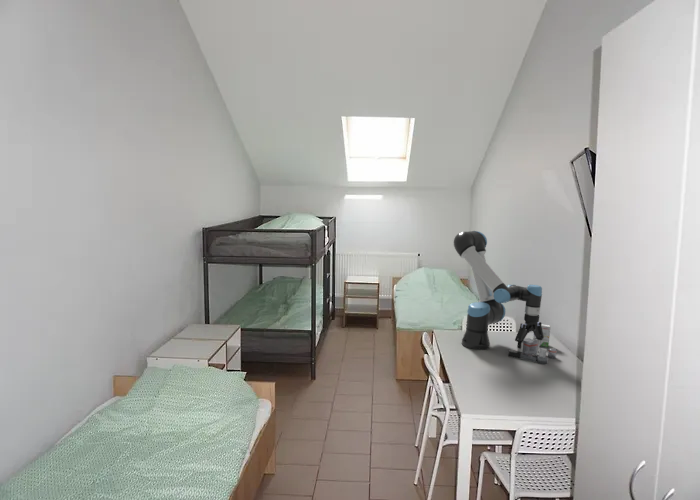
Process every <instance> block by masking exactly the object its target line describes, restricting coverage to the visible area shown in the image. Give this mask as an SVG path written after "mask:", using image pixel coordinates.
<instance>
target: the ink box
mask: <svg viewBox="0 0 700 500" xmlns="http://www.w3.org/2000/svg"><path fill="white" fill-rule="evenodd" d="M541 327H542V331H543V336H544V338H542V340H540V346H539V347H546V348H549V346H550V345H549V343H550V336H551V325H549V324H543V323H542V324H541ZM532 336H533V337H532V339H533V340H535V339H537V338H536V336H535V334H534V333H533V335H532Z"/></svg>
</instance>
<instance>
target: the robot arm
mask: <svg viewBox="0 0 700 500" xmlns="http://www.w3.org/2000/svg"><path fill="white" fill-rule="evenodd" d="M487 244H488V239H487V237H486V235H485V234H484V233H483V232H480V231H477V230H472V231H471V230H470V231H461V232H459V233H457V234H456V235H455V236H454V238H453V247H454V249H455V251H456V252H457V254H458V256H459V257H460V258H461V259H465V261H466V262H467V263H468V264H469V266H470V267H471V271H472V273H473V277H474V282H475V285H476V289H477V292H478V296H479V297H478V298H479V300H478V302H476V301H475V302H471V303H470V304H468V308H467V310H466V311H467V312H466V313H467V314H466V315H467V316H466V327H465V332H464V334H463V337H462V338H461V345H462V346H463V347H466V348H468V349H473V350H488V349H490V346H491V342H490V338H489V333H488V332H489V325H493V324H497V323H499V322H501V321H503V319H505V318H504V317H505V316H506V308H505V306H504V304H506V303H508V302H514V301H521V302H525V308H524V317H523V320H524V321H525V322H524V323H522V322H521V323H520V326H519V329H518V331H517V334H516V336H515V339H514V341H515V342H517V347H516V349H517V350H516V351H520V352H522V351H523V343H522V342H523V340H524V339H525V338H527V335H528V334H529V333H530V332H533V335H534V334H535V336H536V338H537V339H535V341H538V347H537V353H539V350H540V347H541V346H540V340H542V338H544V336H543V331H542V327H541V324H543V323H542V322H541V321H540V314H541V313H540V312H541V305H542V304H541V303H542V297H543V296H542V295H543V294H542V293H543V287H542V286H541V285H538V284H528V285H527V287H524V286H520V285H517V284H507V285H506V284H505V283H504V281H503V280H502V279H501V278H500V277H499V276H498V274H496V272H495V271H494V270H493V269H492V268H491V266H490V265H489V264H488V263H487V261H486V256H485V255H486V253H487V249H486V247H487Z"/></svg>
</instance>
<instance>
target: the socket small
mask: <svg viewBox="0 0 700 500" xmlns="http://www.w3.org/2000/svg"><path fill="white" fill-rule="evenodd" d="M557 352H558V351H557V348H555V347H548V349H547V357H548V359H556V358H557Z"/></svg>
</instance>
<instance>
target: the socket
mask: <svg viewBox="0 0 700 500" xmlns="http://www.w3.org/2000/svg"><path fill="white" fill-rule="evenodd" d="M522 343H523V351H522V353H526V354H531V355H538V352H537V347H538V341H535V340H533V338H531V337H530V338H529V337H525V339H524V340H523V342H522Z"/></svg>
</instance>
